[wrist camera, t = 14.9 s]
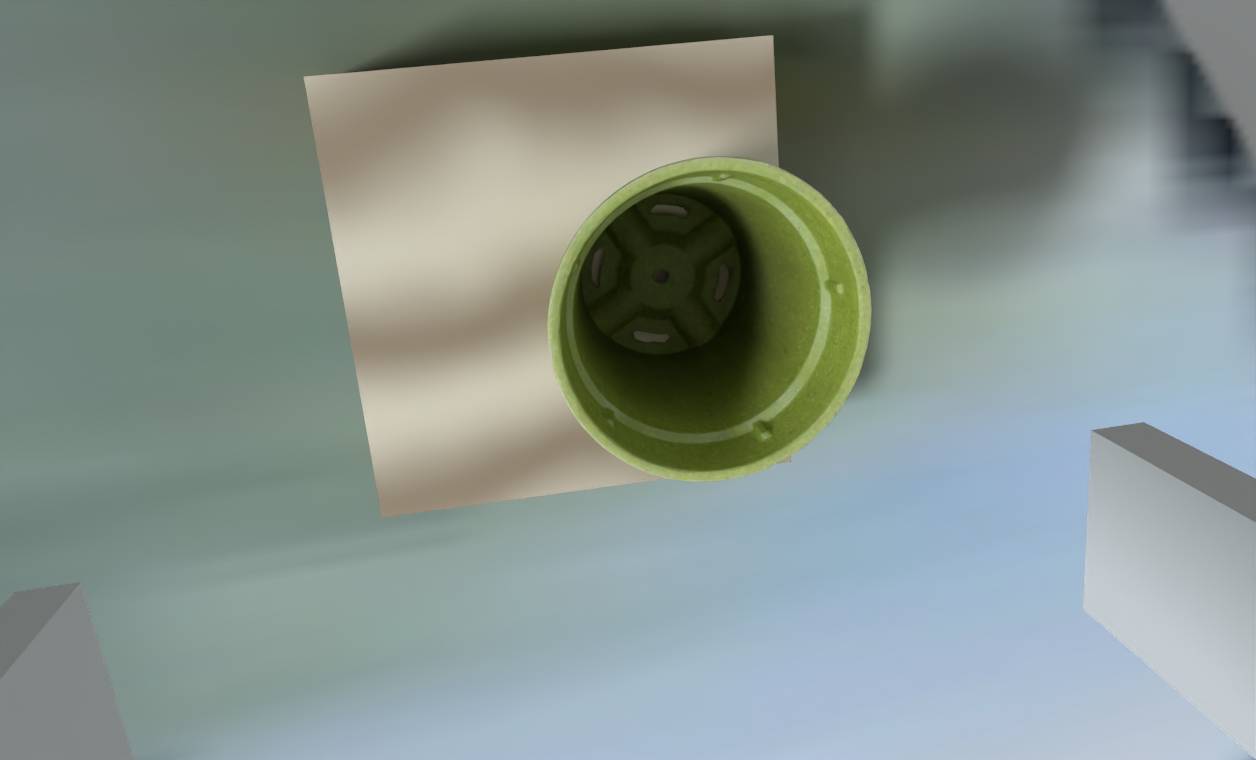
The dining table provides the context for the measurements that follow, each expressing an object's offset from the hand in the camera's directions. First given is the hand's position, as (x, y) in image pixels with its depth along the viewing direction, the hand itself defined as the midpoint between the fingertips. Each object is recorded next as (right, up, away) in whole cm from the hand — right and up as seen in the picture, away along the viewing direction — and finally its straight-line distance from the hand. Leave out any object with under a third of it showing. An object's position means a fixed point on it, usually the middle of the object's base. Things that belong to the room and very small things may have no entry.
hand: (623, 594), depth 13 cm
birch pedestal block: (-3, +8, +27) cm, 29 cm away
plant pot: (+1, +7, +23) cm, 24 cm away
